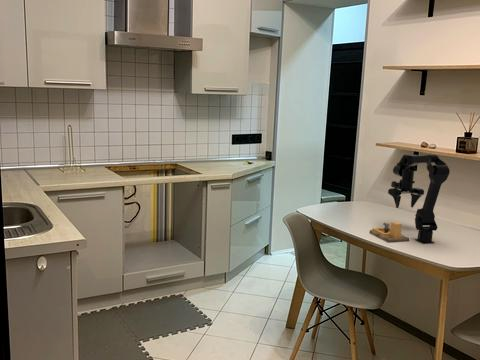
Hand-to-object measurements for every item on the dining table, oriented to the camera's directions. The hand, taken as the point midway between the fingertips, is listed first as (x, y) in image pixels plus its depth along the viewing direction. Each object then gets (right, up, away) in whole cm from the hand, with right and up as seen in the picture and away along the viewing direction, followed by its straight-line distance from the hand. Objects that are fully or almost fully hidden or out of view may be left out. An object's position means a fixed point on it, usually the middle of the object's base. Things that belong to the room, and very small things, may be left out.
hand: (404, 207), depth 248 cm
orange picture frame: (-12, -12, -12) cm, 21 cm away
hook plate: (-12, -14, -12) cm, 22 cm away
